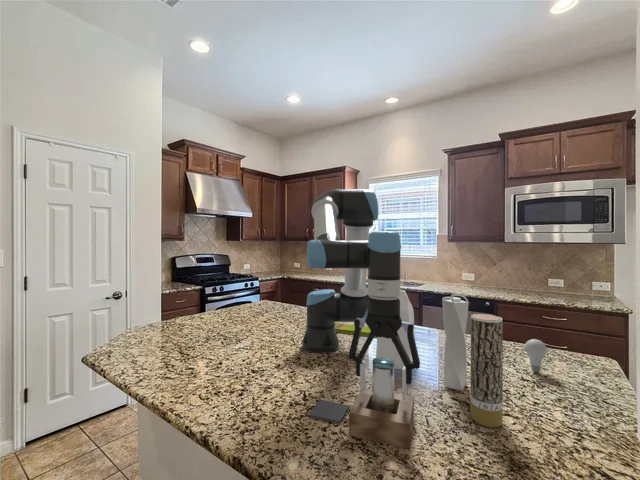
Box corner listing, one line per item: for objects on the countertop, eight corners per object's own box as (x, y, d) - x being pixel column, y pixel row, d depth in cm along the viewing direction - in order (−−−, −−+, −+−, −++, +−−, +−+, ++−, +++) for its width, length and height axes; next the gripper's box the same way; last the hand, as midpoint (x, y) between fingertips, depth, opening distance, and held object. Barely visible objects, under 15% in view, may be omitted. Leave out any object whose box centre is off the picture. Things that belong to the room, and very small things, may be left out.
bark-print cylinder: (465, 414, 79) (465, 314, 79) (490, 413, 79) (490, 313, 80) (481, 429, 72) (481, 320, 72) (509, 428, 72) (509, 320, 73)
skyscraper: (466, 394, 89) (466, 295, 90) (439, 387, 93) (439, 293, 93) (470, 383, 96) (470, 292, 96) (444, 378, 100) (444, 290, 100)
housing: (348, 435, 69) (348, 412, 69) (361, 406, 82) (361, 387, 82) (409, 448, 65) (409, 424, 65) (413, 416, 77) (413, 396, 77)
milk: (415, 359, 116) (415, 289, 116) (410, 370, 105) (410, 293, 106) (383, 354, 121) (383, 287, 121) (375, 364, 111) (376, 291, 111)
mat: (308, 417, 76) (308, 414, 76) (320, 401, 84) (320, 399, 84) (340, 423, 74) (340, 421, 74) (349, 407, 81) (349, 405, 81)
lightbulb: (543, 370, 107) (543, 337, 107) (549, 377, 101) (549, 343, 101) (522, 367, 109) (522, 336, 109) (527, 374, 103) (527, 341, 103)
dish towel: (326, 324, 169) (326, 318, 169) (393, 332, 155) (393, 325, 155) (315, 331, 154) (315, 324, 155) (388, 340, 141) (388, 333, 141)
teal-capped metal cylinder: (370, 429, 72) (370, 363, 72) (374, 417, 76) (374, 356, 77) (392, 433, 70) (392, 366, 70) (395, 422, 75) (395, 359, 75)
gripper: (334, 296, 74) (334, 392, 74) (432, 303, 66) (432, 410, 66) (343, 292, 81) (342, 379, 81) (432, 297, 73) (432, 394, 73)
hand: (383, 393), depth 73 cm, fingers open, 9 cm apart
